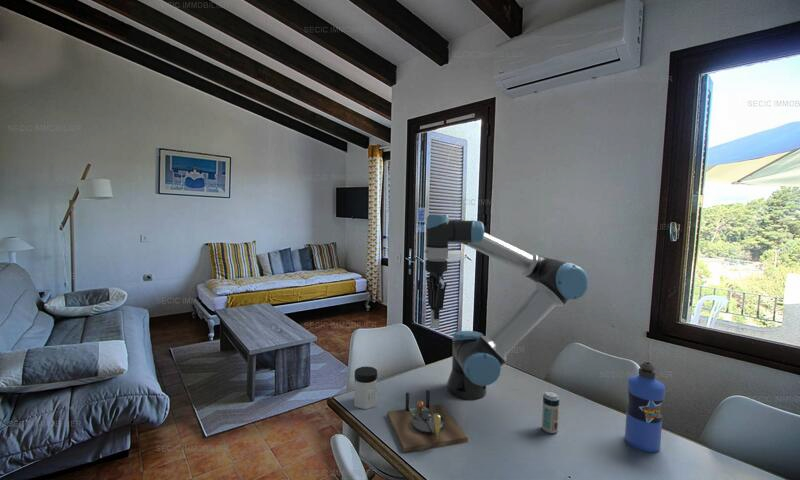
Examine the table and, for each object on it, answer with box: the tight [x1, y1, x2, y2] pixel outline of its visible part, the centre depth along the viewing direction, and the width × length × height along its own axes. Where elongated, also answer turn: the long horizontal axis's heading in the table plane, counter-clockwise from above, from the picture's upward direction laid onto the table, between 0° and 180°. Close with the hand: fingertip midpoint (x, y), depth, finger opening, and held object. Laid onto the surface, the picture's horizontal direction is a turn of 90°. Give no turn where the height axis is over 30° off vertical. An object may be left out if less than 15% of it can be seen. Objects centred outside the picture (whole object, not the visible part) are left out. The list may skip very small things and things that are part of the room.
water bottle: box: [624, 361, 666, 454], centre depth 112 cm, size 9×9×25 cm
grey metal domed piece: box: [412, 400, 444, 438], centre depth 117 cm, size 19×10×8 cm, turn 13°
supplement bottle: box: [541, 390, 561, 434], centre depth 118 cm, size 5×5×12 cm
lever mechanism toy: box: [386, 389, 469, 454], centre depth 118 cm, size 20×20×8 cm
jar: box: [353, 366, 378, 410], centre depth 133 cm, size 9×8×12 cm
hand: (434, 327), depth 128 cm, fingers closed
